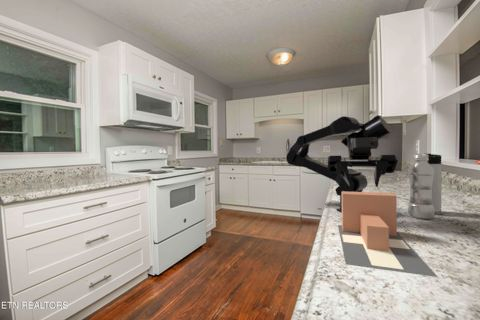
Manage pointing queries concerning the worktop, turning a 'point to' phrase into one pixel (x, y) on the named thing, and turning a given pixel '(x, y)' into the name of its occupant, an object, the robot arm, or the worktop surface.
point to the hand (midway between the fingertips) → (363, 185)
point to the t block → (370, 217)
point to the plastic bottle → (421, 188)
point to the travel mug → (436, 181)
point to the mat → (383, 255)
